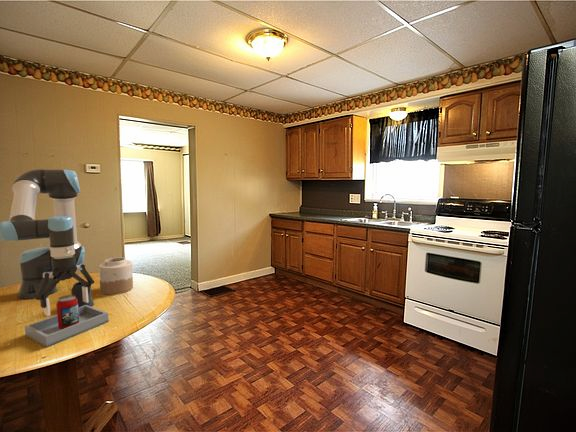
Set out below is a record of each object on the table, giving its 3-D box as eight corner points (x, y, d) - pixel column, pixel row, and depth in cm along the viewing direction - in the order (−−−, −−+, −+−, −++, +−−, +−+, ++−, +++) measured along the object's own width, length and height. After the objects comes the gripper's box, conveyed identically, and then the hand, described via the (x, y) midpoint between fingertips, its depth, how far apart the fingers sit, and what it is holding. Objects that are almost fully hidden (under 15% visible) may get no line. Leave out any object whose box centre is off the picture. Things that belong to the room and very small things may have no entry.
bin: (25, 336, 113) (24, 326, 112) (87, 313, 132) (86, 304, 132) (47, 347, 106) (46, 336, 105) (108, 321, 125) (108, 312, 124)
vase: (138, 288, 163) (137, 258, 161) (109, 297, 150) (107, 265, 148) (123, 282, 171) (121, 254, 169) (94, 291, 158) (92, 260, 156)
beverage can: (68, 331, 115) (66, 302, 113) (54, 329, 116) (51, 300, 115) (83, 323, 122) (81, 295, 120) (69, 321, 123) (67, 293, 121)
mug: (94, 307, 138) (92, 284, 137) (70, 312, 133) (68, 288, 132) (93, 298, 148) (92, 277, 147) (71, 302, 143) (69, 280, 142)
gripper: (28, 266, 103) (34, 323, 106) (101, 250, 125) (104, 298, 127) (18, 262, 106) (24, 318, 109) (91, 248, 128) (94, 295, 131)
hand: (67, 308), depth 118 cm, fingers open, 13 cm apart
